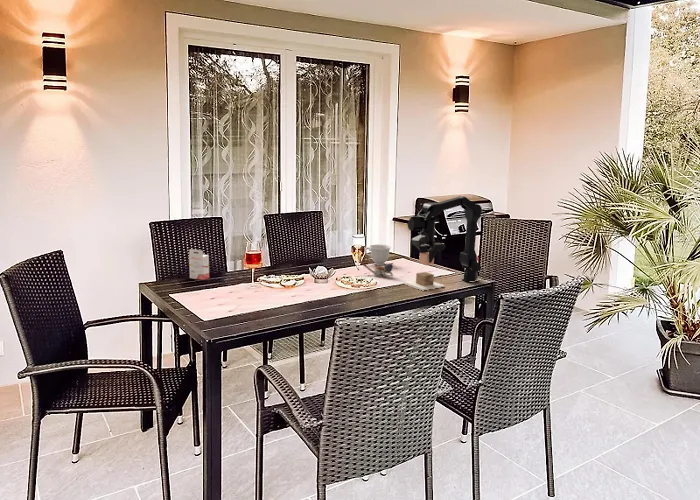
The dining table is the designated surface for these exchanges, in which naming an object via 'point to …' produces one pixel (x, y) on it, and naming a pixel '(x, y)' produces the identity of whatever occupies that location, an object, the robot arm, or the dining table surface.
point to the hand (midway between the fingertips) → (426, 261)
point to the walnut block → (424, 278)
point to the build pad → (420, 287)
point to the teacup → (379, 253)
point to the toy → (381, 270)
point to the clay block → (425, 258)
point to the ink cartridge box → (198, 265)
